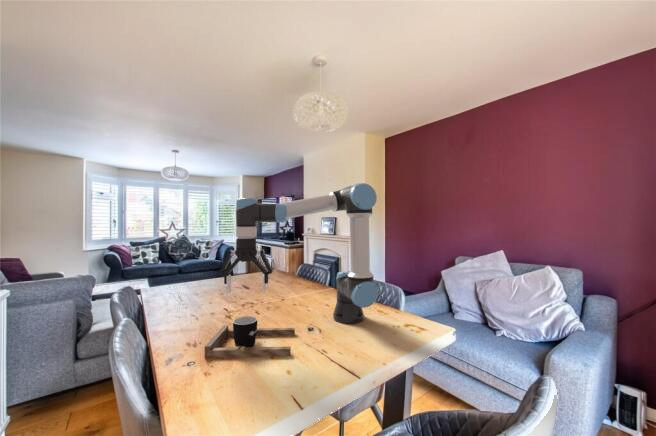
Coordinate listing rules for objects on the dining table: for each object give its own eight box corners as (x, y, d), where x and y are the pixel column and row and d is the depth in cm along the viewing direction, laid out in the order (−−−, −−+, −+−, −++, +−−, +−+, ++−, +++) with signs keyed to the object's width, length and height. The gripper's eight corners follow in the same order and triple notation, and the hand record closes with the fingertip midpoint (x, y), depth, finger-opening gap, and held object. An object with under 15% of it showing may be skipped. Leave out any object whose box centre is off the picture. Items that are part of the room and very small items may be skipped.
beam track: (294, 333, 115) (294, 324, 115) (289, 356, 95) (289, 344, 96) (223, 334, 114) (223, 325, 114) (204, 357, 94) (204, 346, 94)
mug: (250, 353, 98) (250, 325, 98) (228, 350, 100) (228, 323, 100) (264, 339, 109) (264, 314, 109) (244, 337, 111) (245, 312, 111)
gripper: (279, 236, 109) (279, 289, 109) (217, 237, 108) (217, 290, 108) (276, 238, 102) (277, 294, 101) (210, 238, 101) (210, 295, 100)
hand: (246, 292), depth 105 cm, fingers open, 13 cm apart
